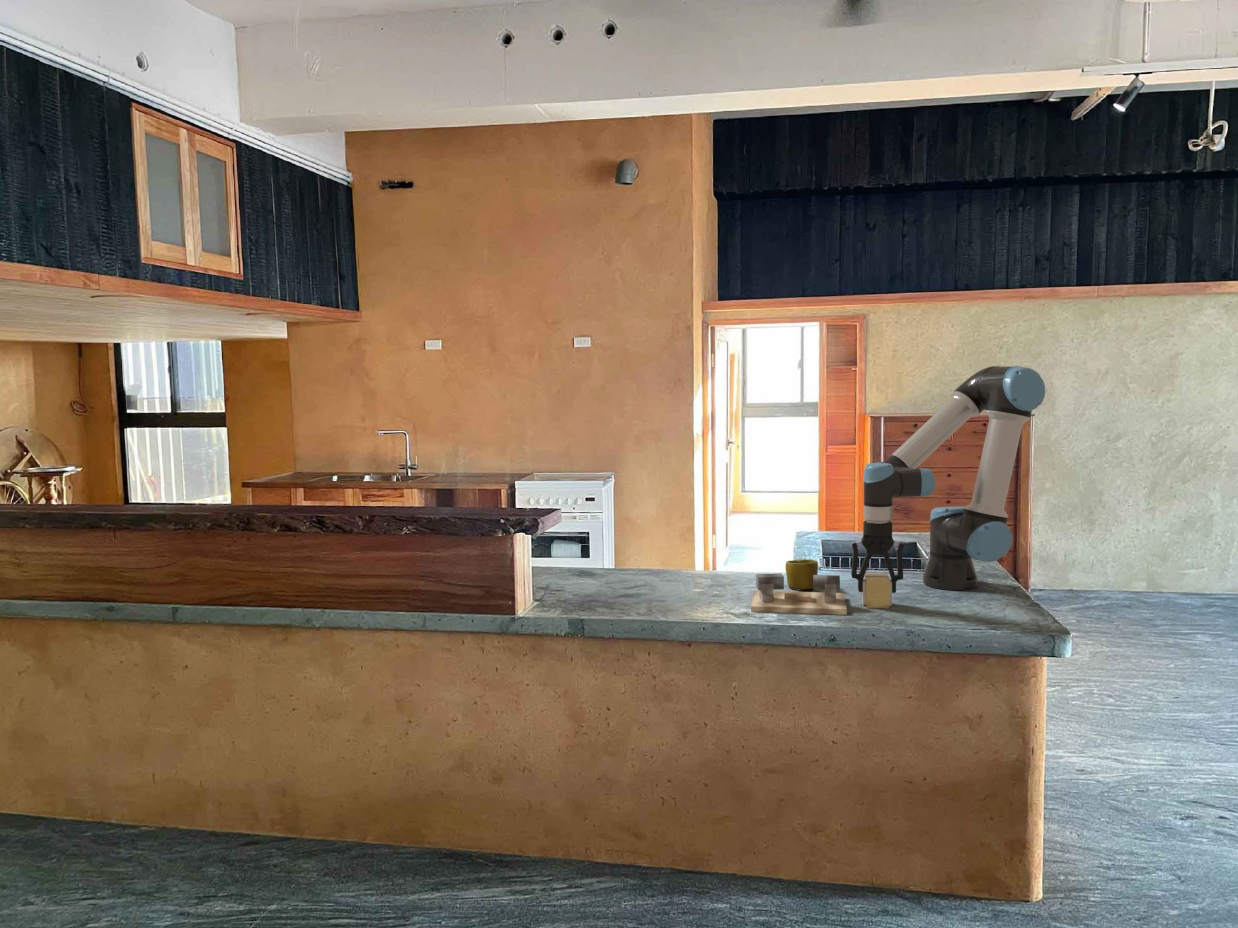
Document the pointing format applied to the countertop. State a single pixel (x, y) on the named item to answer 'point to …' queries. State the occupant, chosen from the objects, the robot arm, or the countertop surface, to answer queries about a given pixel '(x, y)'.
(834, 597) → the shaft rig
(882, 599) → the tan cardboard block
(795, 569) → the mug
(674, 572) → the countertop surface
